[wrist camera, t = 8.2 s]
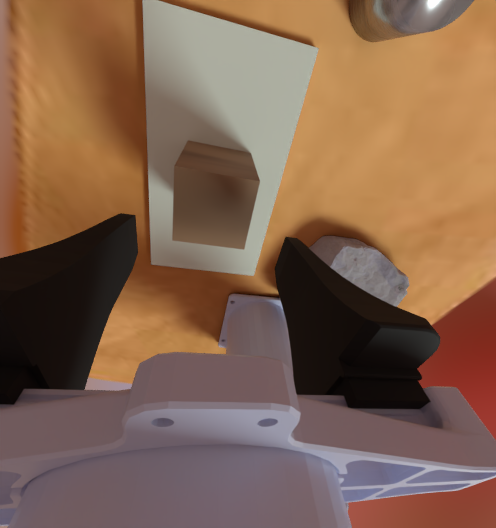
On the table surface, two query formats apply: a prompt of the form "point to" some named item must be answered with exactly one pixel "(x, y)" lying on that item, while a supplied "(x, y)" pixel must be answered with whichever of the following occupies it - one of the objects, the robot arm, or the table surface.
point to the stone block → (363, 267)
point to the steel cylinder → (402, 17)
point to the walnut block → (213, 195)
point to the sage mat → (217, 117)
